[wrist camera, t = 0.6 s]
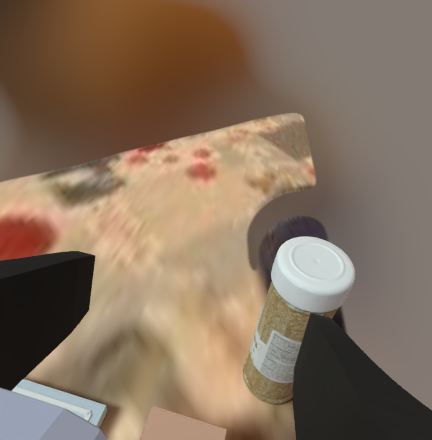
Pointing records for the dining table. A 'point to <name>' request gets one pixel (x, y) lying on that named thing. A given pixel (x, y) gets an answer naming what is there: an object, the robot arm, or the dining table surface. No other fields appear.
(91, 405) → the board
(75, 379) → the dining table surface
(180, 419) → the terracotta block
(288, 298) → the spice jar
